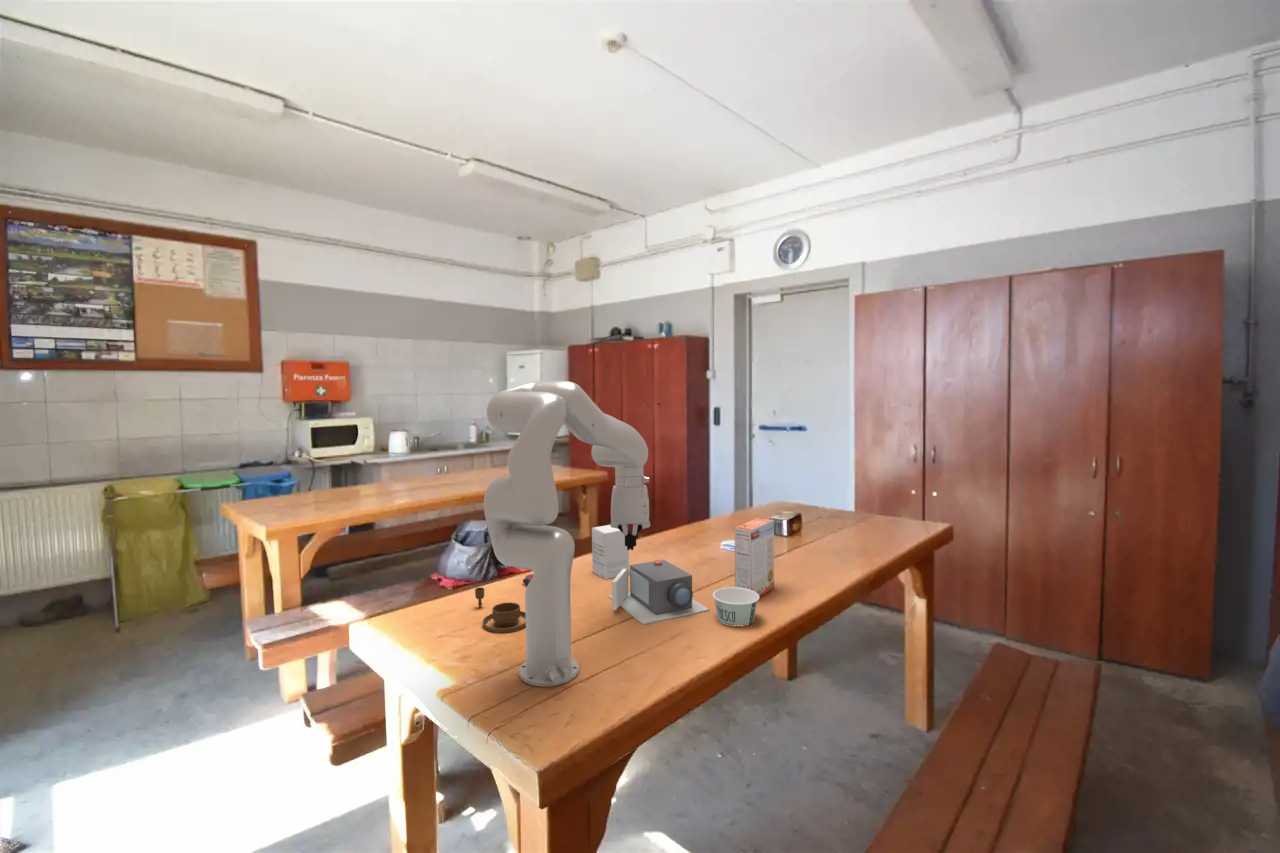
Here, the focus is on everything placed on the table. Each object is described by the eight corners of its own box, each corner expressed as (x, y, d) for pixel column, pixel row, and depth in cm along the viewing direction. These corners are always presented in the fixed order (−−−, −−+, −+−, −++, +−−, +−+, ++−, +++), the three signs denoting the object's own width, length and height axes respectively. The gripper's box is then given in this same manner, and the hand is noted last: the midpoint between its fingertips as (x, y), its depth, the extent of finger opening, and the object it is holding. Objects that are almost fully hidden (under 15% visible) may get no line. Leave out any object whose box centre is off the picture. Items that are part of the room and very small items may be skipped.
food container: (765, 616, 156) (765, 591, 156) (749, 632, 146) (749, 607, 145) (723, 607, 162) (723, 584, 162) (705, 623, 152) (705, 598, 152)
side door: (616, 609, 158) (616, 582, 158) (611, 609, 159) (611, 581, 158) (628, 593, 171) (628, 567, 170) (624, 592, 171) (623, 567, 170)
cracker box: (756, 584, 180) (757, 516, 179) (775, 588, 176) (775, 519, 175) (733, 597, 169) (733, 525, 168) (752, 602, 166) (752, 529, 164)
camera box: (709, 610, 160) (709, 573, 159) (643, 624, 151) (642, 585, 150) (669, 585, 180) (669, 552, 179) (608, 596, 171) (608, 562, 170)
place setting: (469, 639, 145) (468, 615, 144) (473, 608, 164) (472, 587, 164) (541, 631, 149) (541, 608, 148) (537, 602, 168) (536, 582, 168)
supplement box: (615, 567, 198) (615, 523, 197) (629, 574, 190) (629, 528, 189) (591, 572, 193) (591, 527, 192) (605, 579, 185) (604, 532, 184)
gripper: (658, 478, 161) (658, 544, 163) (603, 479, 162) (604, 544, 164) (657, 484, 154) (657, 553, 155) (599, 484, 155) (601, 552, 156)
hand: (630, 548), depth 159 cm, fingers closed
